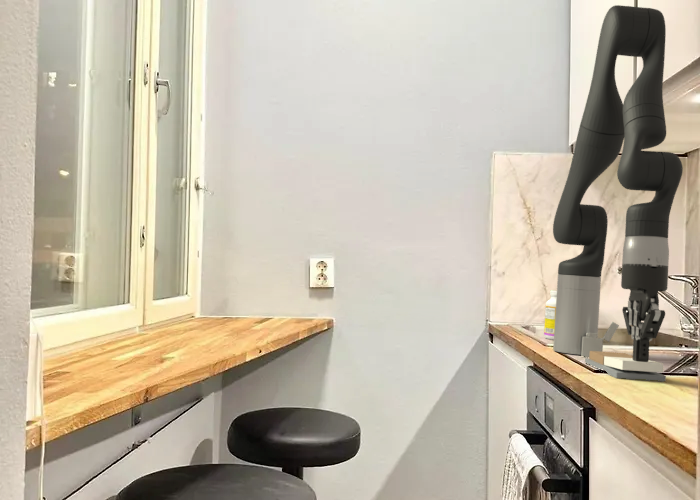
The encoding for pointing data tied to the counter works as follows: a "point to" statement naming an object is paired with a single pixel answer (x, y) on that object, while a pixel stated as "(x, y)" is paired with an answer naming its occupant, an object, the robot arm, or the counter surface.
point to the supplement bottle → (550, 316)
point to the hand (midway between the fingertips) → (640, 361)
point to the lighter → (596, 340)
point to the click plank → (633, 364)
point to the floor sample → (598, 361)
